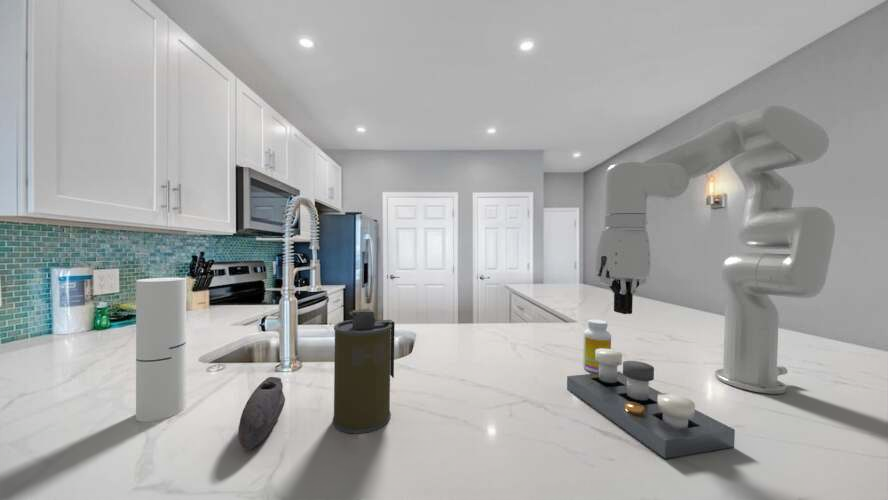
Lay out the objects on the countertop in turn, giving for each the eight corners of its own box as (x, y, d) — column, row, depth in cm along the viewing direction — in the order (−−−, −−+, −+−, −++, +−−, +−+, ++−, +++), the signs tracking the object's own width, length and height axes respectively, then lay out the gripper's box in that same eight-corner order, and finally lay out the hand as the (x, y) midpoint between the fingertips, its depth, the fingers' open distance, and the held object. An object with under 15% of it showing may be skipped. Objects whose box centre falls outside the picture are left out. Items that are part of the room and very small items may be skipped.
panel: (566, 389, 75) (567, 371, 75) (618, 384, 78) (619, 367, 78) (664, 459, 50) (665, 433, 50) (734, 447, 54) (735, 423, 54)
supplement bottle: (613, 375, 83) (615, 325, 83) (585, 373, 84) (587, 323, 84) (606, 366, 90) (607, 319, 89) (580, 364, 91) (581, 317, 91)
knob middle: (637, 389, 67) (638, 359, 67) (659, 400, 62) (660, 369, 62) (616, 391, 66) (617, 361, 66) (637, 403, 61) (638, 371, 61)
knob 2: (673, 424, 60) (673, 391, 59) (701, 441, 54) (702, 405, 54) (649, 427, 58) (650, 394, 58) (676, 445, 53) (677, 408, 53)
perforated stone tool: (261, 458, 49) (261, 412, 49) (222, 462, 48) (222, 415, 48) (289, 409, 64) (290, 373, 64) (260, 411, 63) (260, 375, 63)
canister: (338, 440, 54) (339, 319, 54) (328, 411, 63) (329, 307, 63) (400, 424, 59) (402, 313, 59) (383, 399, 68) (384, 303, 68)
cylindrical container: (194, 406, 64) (195, 278, 64) (152, 424, 57) (152, 282, 57) (170, 399, 66) (170, 276, 66) (126, 417, 60) (126, 280, 59)
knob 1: (609, 373, 75) (609, 347, 75) (627, 383, 70) (627, 355, 70) (589, 375, 74) (590, 349, 74) (606, 385, 69) (607, 357, 69)
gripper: (638, 226, 73) (636, 307, 74) (581, 224, 69) (580, 310, 70) (669, 224, 66) (667, 315, 66) (608, 221, 62) (606, 318, 62)
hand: (622, 312), depth 68 cm, fingers closed
